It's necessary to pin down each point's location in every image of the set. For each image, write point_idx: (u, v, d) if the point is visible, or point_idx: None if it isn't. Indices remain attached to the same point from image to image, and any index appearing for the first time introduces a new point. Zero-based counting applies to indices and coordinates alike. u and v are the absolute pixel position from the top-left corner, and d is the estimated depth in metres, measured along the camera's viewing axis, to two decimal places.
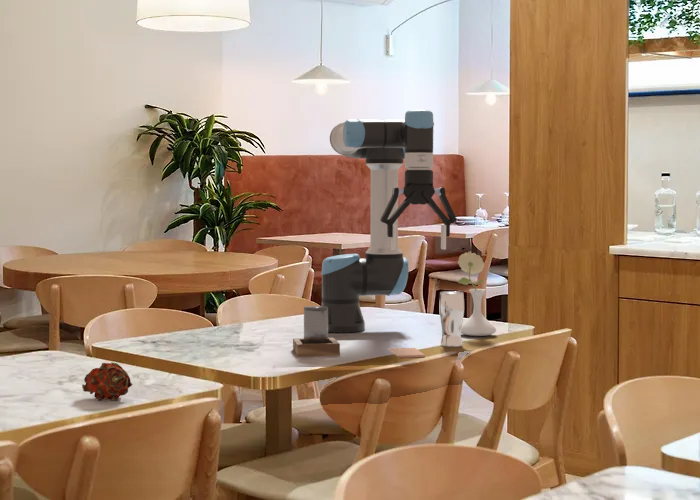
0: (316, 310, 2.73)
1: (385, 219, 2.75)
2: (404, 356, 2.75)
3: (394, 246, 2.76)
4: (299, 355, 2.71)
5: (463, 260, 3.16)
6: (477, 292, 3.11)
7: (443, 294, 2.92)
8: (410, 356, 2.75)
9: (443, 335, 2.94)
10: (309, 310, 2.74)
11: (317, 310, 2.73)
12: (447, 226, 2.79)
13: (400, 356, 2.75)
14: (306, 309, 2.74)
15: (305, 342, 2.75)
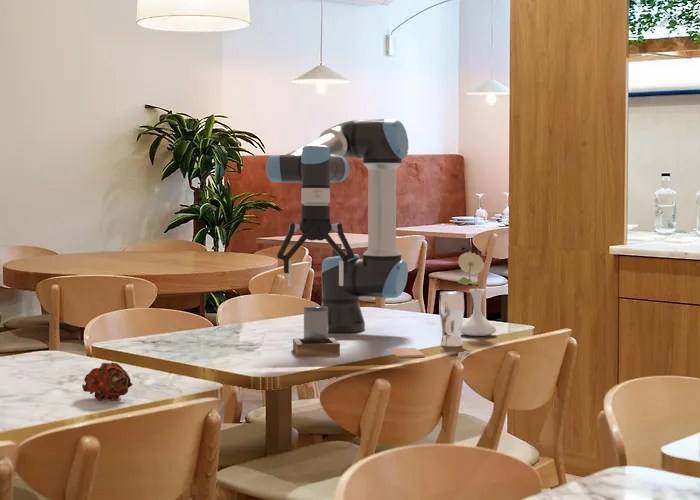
0: (316, 310, 2.73)
1: (281, 255, 2.72)
2: (404, 356, 2.75)
3: (290, 282, 2.73)
4: (299, 355, 2.71)
5: (463, 260, 3.16)
6: (477, 292, 3.11)
7: (443, 294, 2.92)
8: (410, 356, 2.75)
9: (443, 335, 2.94)
10: (309, 310, 2.74)
11: (317, 310, 2.73)
12: (344, 262, 2.76)
13: (400, 356, 2.75)
14: (306, 309, 2.74)
15: (305, 342, 2.75)
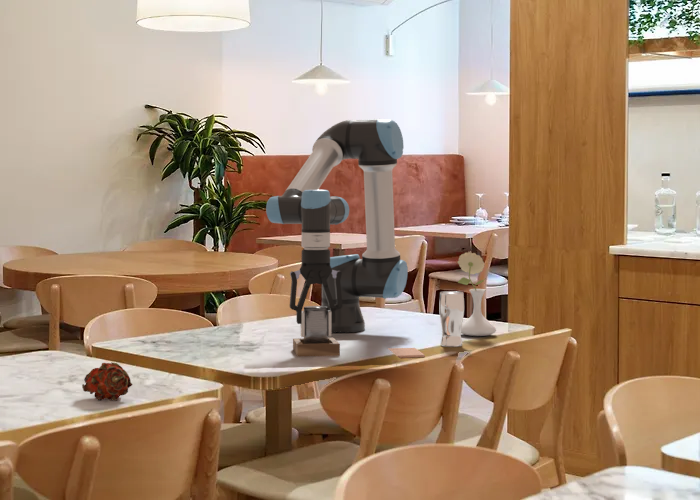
0: (316, 310, 2.73)
1: (293, 306, 2.74)
2: (404, 356, 2.75)
3: (303, 333, 2.75)
4: (299, 355, 2.71)
5: (463, 260, 3.16)
6: (477, 292, 3.11)
7: (443, 294, 2.92)
8: (410, 356, 2.75)
9: (443, 335, 2.94)
10: (309, 310, 2.74)
11: (317, 310, 2.73)
12: (332, 312, 2.76)
13: (400, 356, 2.75)
14: (306, 309, 2.74)
15: (305, 342, 2.75)
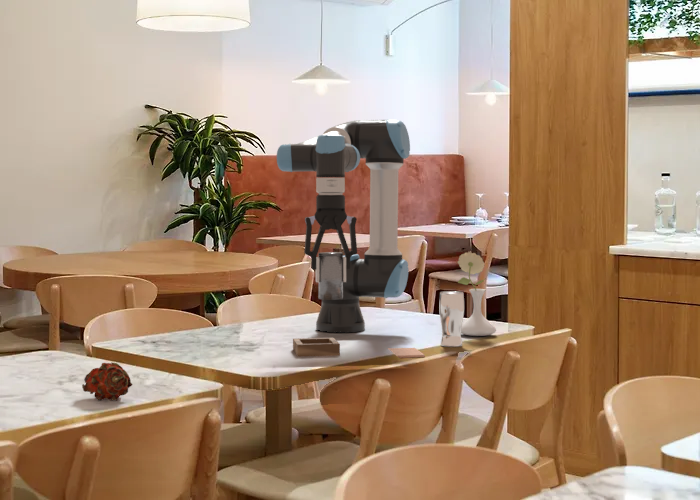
0: (331, 255, 2.73)
1: (308, 251, 2.74)
2: (404, 356, 2.75)
3: (318, 278, 2.75)
4: (299, 355, 2.71)
5: (463, 260, 3.16)
6: (477, 292, 3.11)
7: (443, 294, 2.92)
8: (410, 356, 2.75)
9: (443, 335, 2.94)
10: (324, 255, 2.73)
11: (332, 255, 2.73)
12: (347, 258, 2.76)
13: (400, 356, 2.75)
14: (321, 254, 2.74)
15: (320, 288, 2.75)
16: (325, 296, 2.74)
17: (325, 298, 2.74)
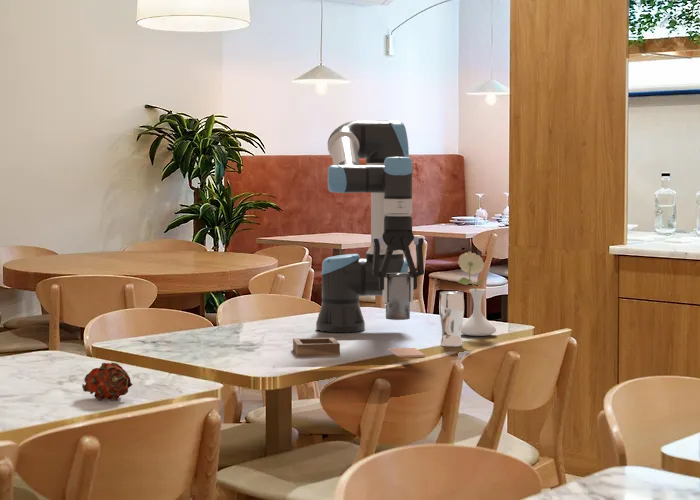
0: (399, 276, 2.76)
1: (376, 272, 2.77)
2: (404, 356, 2.75)
3: (385, 299, 2.78)
4: (299, 355, 2.71)
5: (463, 260, 3.16)
6: (477, 292, 3.11)
7: (443, 294, 2.92)
8: (410, 356, 2.75)
9: (443, 335, 2.94)
10: (392, 276, 2.76)
11: (400, 276, 2.76)
12: (414, 279, 2.79)
13: (400, 356, 2.75)
14: (389, 275, 2.77)
15: (387, 308, 2.78)
16: (393, 316, 2.77)
17: (393, 318, 2.77)
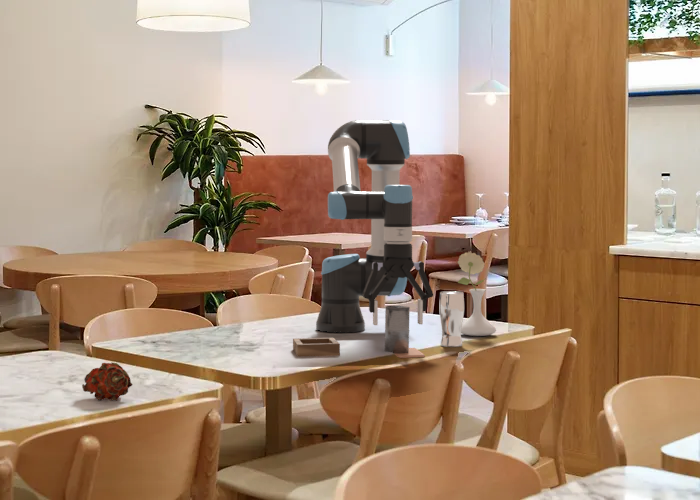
0: (399, 310, 2.77)
1: (367, 295, 2.77)
2: (404, 356, 2.75)
3: (376, 321, 2.78)
4: (299, 355, 2.71)
5: (463, 260, 3.16)
6: (477, 292, 3.11)
7: (443, 294, 2.92)
8: (410, 356, 2.75)
9: (443, 335, 2.94)
10: (392, 310, 2.77)
11: (400, 310, 2.77)
12: (424, 301, 2.80)
13: (400, 356, 2.75)
14: (388, 309, 2.78)
15: (387, 341, 2.79)
16: (392, 350, 2.78)
17: None
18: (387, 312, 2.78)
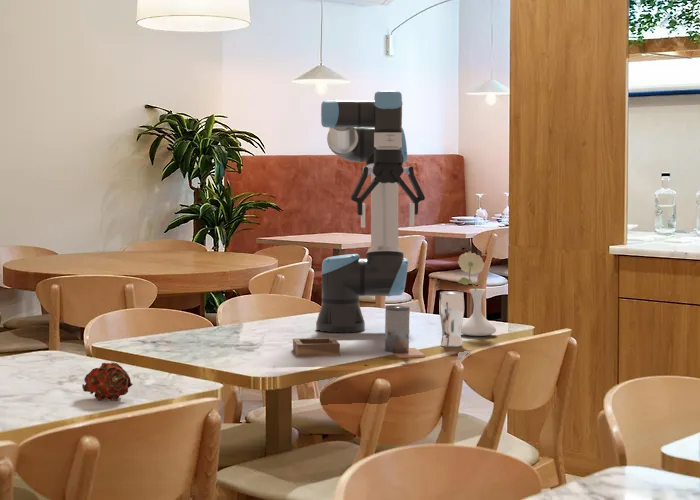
0: (399, 310, 2.77)
1: (355, 197, 2.82)
2: (404, 356, 2.75)
3: (364, 224, 2.83)
4: (299, 355, 2.71)
5: (463, 260, 3.16)
6: (477, 292, 3.11)
7: (443, 294, 2.92)
8: (410, 356, 2.75)
9: (443, 335, 2.94)
10: (392, 310, 2.77)
11: (400, 310, 2.77)
12: (415, 204, 2.86)
13: (400, 356, 2.75)
14: (389, 309, 2.78)
15: (387, 341, 2.79)
16: (392, 350, 2.78)
17: None
18: (387, 312, 2.78)
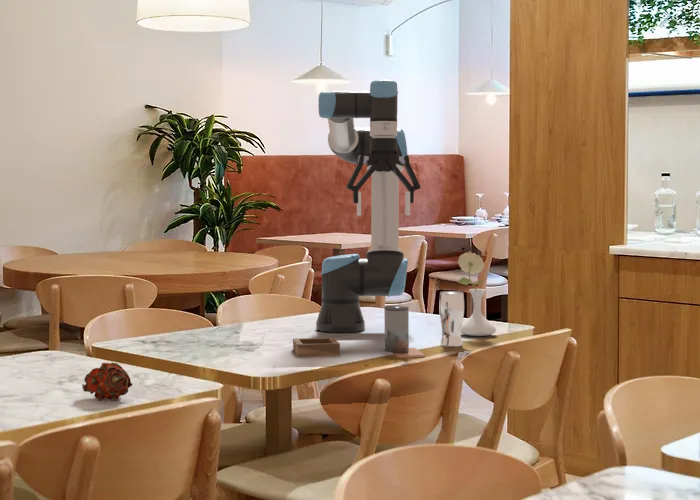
0: (398, 310, 2.76)
1: (351, 186, 2.84)
2: (404, 356, 2.75)
3: (359, 212, 2.85)
4: (299, 355, 2.71)
5: (463, 260, 3.16)
6: (477, 292, 3.11)
7: (443, 294, 2.92)
8: (410, 356, 2.75)
9: (443, 335, 2.94)
10: (391, 310, 2.77)
11: (399, 310, 2.77)
12: (411, 193, 2.88)
13: (400, 356, 2.75)
14: (388, 309, 2.77)
15: (387, 342, 2.79)
16: (392, 350, 2.78)
17: None
18: (386, 313, 2.78)
